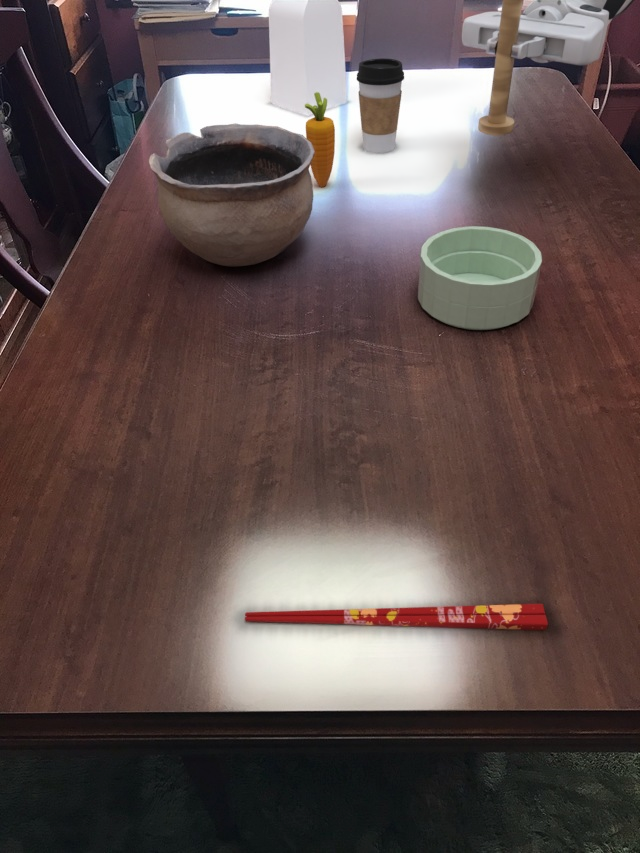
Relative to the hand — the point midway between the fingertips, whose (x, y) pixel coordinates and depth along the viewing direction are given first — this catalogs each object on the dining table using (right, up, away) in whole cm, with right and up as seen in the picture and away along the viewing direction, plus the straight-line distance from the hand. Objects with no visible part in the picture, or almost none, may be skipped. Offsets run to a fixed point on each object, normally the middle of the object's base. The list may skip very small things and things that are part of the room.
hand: (503, 50), depth 96 cm
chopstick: (-20, -68, -40) cm, 82 cm away
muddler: (+1, -8, +8) cm, 11 cm away
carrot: (-25, -12, +22) cm, 35 cm away
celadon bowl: (-5, -36, -6) cm, 37 cm away
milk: (-28, +17, +54) cm, 63 cm away
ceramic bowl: (-37, -27, +6) cm, 46 cm away
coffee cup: (-14, 0, +34) cm, 37 cm away
